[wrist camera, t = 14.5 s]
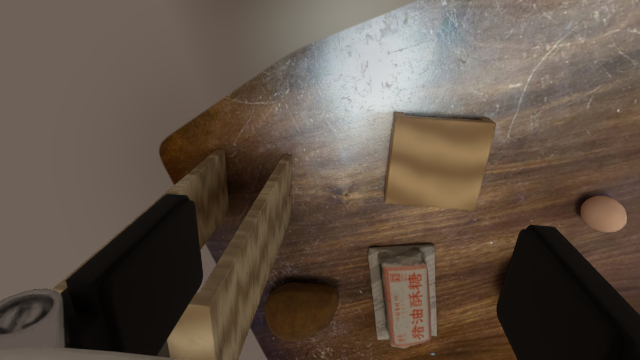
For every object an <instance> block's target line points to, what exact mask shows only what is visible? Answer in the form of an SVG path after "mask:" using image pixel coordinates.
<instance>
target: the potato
mask: <svg viewBox="0 0 640 360" xmlns="http://www.w3.org/2000/svg"><path fill="white" fill-rule="evenodd" d="M338 301H339V293H338V292H337V290H336V289H335V288H334V287H333V286H330V285H326V284H320V283H299V282H290V283H287V284H284V285H282V286H280V287H278V288H277V289H275V290H274V291H273V292H271V293H270V295H269V296H268V298H267V300H266V301H265V318H266V321H267V324H268V326H269V328H270V329H271V331H272V333H273V334H274V335H275V336H276V337H278V338H279V339H282V340H285V341H299V340H303V339H305V338H308V337H309V336H311V335H313V334H315V333H317V332H320V331H322V330H323V329H325V328H327V326H328V325H329V324H330V322H331V321H332V320H333V317H334V315H335V312H336V309H337V306H338Z"/></svg>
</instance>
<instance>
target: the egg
mask: <svg viewBox="0 0 640 360" xmlns="http://www.w3.org/2000/svg"><path fill="white" fill-rule="evenodd" d="M580 213H581V217H582V219H583V221H584V222H585V223H586V224H587V225H588V226H590V227H591V228H593V229H595V230H598V231H602V232H615V231H618V230H620V229H622V228H623V227H624V226H625V224H626V221H627V215H626V211H625V209H624V208H623V206H622V205H621V204H620V203H619V202H617V201H616V200H614V199H612V198H610V197H606V196H595V197H591V198H589V199H587V200H586V201H585V202H584V203H583V204H582V206H581V211H580Z"/></svg>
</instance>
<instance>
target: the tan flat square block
mask: <svg viewBox="0 0 640 360" xmlns="http://www.w3.org/2000/svg"><path fill="white" fill-rule="evenodd" d="M495 127H496V123H495V122H493V121H492V120H491V119H489V118H486V117H479V119H478V120H468V119H452V118H436V117H421V116H405V115H404V113H403V112H394V116H393V124H392V132H391V140H390V148H389V156H388V164H387V172H386V180H385V188H384V199H385V203H389V204H401V205H413V206H425V207H437V208H449V209H461V210H473V211H475V208H476V204H477V200H478V196H479V192H480V188H481V184H482V180H483V176H484V172H485V168H486V164H487V159H488V155H489V151H490V147H491V143H492V139H493V135H494V131H495Z"/></svg>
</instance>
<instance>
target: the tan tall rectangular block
mask: <svg viewBox="0 0 640 360" xmlns="http://www.w3.org/2000/svg"><path fill="white" fill-rule="evenodd" d="M291 186H292V155H290V154H283V156H282V158H281V159H280V161H279V163H278V164H277V166H276V167H275V169H274V171H273V172H272V174H271V176H270V177H269V179H268V181H267V182H266V184H265V186H264V187H263V189H262V191H261V192H260V194H259V195H258V197H257V199H256V200H255V202H254V204H253V205H252V207H251V209H250V210H249V212H248V214H247V215H246V217H245V219H244V220H243V222H242V223H241V225H240V227H239V228H238V230H237V232H236V233H235V235H234V237H233V238H232V240H231V242H230V243H229V245H228V246H227V248H226V250H225V251H224V253H223V255H222V256H221V258H220V260H219V261H218V263H217V265H216V267H215V268H214V270H213V271H212V273H211V274H210V276H209V278H208V280H207V281H206V283H205V284H204V286H203V288H202V289H201V291H200V293H196V294H195V295H194V297H193V299H192V300H191V302H190V303H189V305H188V307H187V308H186V310H185V311H184V313H183V315H182V316H181V318H180V320H179V321H178V323H177V324H176V326H175V328H174V329H173V331H172V332H171V334H170V336H169V337H168V339H167V343H168V349H169V354H170V358H176V359H184V360H238V358H239V355H240V353H241V350H242V347H243V345H244V342H245V339H246V337H247V334H248V331H249V329H250V326H251V323H252V320H253V318H254V315H255V312H256V310H257V307H258V304H259V302H260V299H261V296H262V293H263V291H264V288H265V285H266V283H267V280H268V277H269V275H270V272H271V269H272V266H273V264H274V261H275V258H276V256H277V253H278V250H279V247H280V245H281V242H282V239H283V237H284V234H285V231H286V229H287V226H288V223H289V220H290V218H291ZM166 194H178V195H187V196H188V197H189V199H190V200H193V201H194V203H195V208H196V217H197V226H198V235H199V243H200V250H201V248H202V247H203V246H204V244H205V243H206V242H207V240H208V239H209V237H210V236H211V235H212V233H213V232H214V230H215V229H216V228H217V226H218V225H219V223H220V222H221V221H222V219H223V218H224V217H225V215H226V214H227V212H228V211H229V204H228V190H227V176H226V162H225V150H223V149H216V150H215V151H214V152H213V153H212V154H211V155H209V156H208V157H207V158H206V159H205V160H204V161H202V162H201V163H200V164H199V165H198V166H196V167H195V168H194V169H193V170H192V171H191V172H189V173H188V174H187V175H186V176H185V177H184V178H182V179H181V180H180V181H179V182H178V183H176V184H175V185H174V186H173V187H172V188H171V189H170V190H168V191H167V192H166V193H165V194H164V195H166ZM164 195H162V196H161V197H160V198H159V199H158V200H160V199H161V198H162V197H163V196H164ZM158 200H157V201H158ZM157 201H155V202H154V203H153V204H152V205H151V206H153V205H154V204H155V203H156V202H157ZM151 206H149V207H148V208H147V209H146V210H145V211H144V212H146V211H147V210H148V209H149V208H150V207H151ZM144 212H142V213H141V214H140V215H139V216H138V217H137V218H139V217H140V216H141V215H142V214H143V213H144ZM137 218H135V219H134V220H133V221H132V222H131V223H130V224H132V223H133V222H134V221H135V220H136V219H137ZM130 224H128V225H127V226H126V227H125V228H124V229H122V230H121V231H120V232H119V233H118V234H117V235H115V236H114V237H113V238H112V239H111V240H110V241H108V242H107V243H106V244H105V245H104V246H102V247H101V248H100V249H99V250H98V251H97V252H95V253H94V254H93V255H92V256H91V257H90V258H89V259H87V260H86V261H85V262H84V263H82V264H81V265H80V266H79V267H78V268H77V269H75V270H74V271H73V272H72V273H71V274H70V275H68V276H67V277H66V278H65V279H64V280H62V281H61V282H60V283H59V284H58V285H57V286H55V287H54V288H53V290H55V291H57V292H58V293H61V292H62V291H64V290H65V289H66V288H67V284H66V281H65V280H66V279H68V278H69V277H70V276H71V275H72V274H73V273H75V272H76V271H77V270H78V269H79V268H80V267H82V266H83V265H84V264H85V263H86V262H87V261H89V260H90V259H91V258H92V257H93V256H94V255H96V254H97V253H98V252H99V251H100V250H101V249H103V248H104V247H105V246H106V245H107V244H108V243H110V242H111V241H112V240H113V239H114V238H115V237H116V236H118V235H119V234H120V233H121V232H122V231H123V230H125V229H126V228H127V227H128V226H129V225H130Z"/></svg>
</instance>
